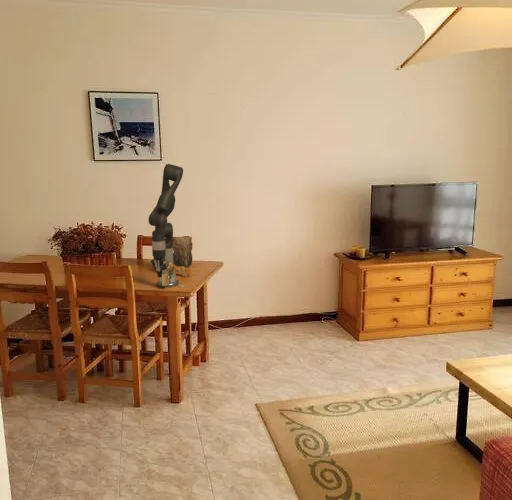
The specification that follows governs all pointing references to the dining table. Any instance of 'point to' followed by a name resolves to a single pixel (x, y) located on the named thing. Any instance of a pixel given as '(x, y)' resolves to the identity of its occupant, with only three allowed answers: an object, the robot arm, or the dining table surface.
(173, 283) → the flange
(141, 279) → the dining table surface
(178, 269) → the lion figurine
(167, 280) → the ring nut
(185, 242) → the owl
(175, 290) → the dining table surface
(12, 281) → the dining table surface
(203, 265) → the dining table surface
